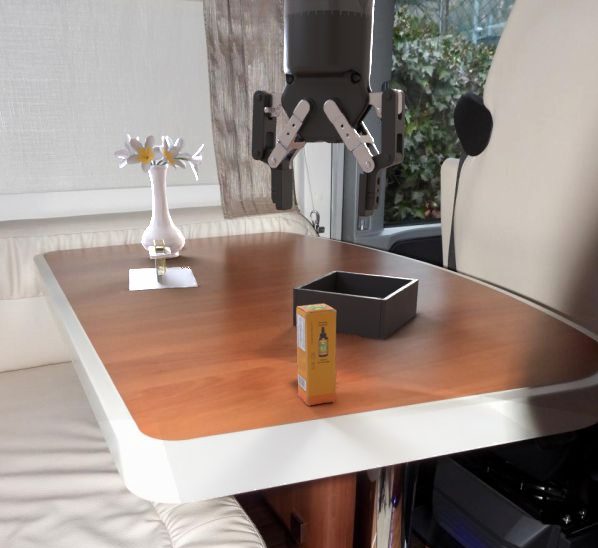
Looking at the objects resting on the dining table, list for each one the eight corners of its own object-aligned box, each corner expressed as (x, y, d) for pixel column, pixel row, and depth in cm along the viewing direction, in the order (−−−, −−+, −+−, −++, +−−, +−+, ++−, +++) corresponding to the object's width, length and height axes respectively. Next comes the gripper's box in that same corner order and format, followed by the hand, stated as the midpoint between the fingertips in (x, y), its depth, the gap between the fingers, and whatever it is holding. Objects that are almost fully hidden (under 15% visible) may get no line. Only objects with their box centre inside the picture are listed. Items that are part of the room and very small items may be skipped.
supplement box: (324, 391, 70) (326, 301, 66) (336, 403, 67) (338, 309, 63) (295, 394, 69) (295, 303, 65) (306, 407, 66) (306, 312, 62)
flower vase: (215, 258, 139) (209, 134, 129) (128, 264, 133) (115, 134, 123) (201, 248, 150) (195, 133, 140) (121, 253, 144) (108, 133, 134)
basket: (415, 324, 93) (418, 279, 90) (383, 350, 82) (385, 300, 80) (333, 313, 99) (334, 270, 96) (293, 335, 88) (292, 288, 85)
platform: (189, 266, 131) (187, 234, 128) (198, 286, 115) (195, 249, 112) (129, 269, 128) (126, 236, 126) (129, 290, 112) (125, 252, 110)
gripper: (424, 14, 54) (408, 213, 60) (277, 23, 60) (277, 204, 66) (393, 0, 48) (379, 223, 54) (233, 12, 54) (238, 211, 60)
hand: (323, 212), depth 60 cm, fingers open, 8 cm apart
